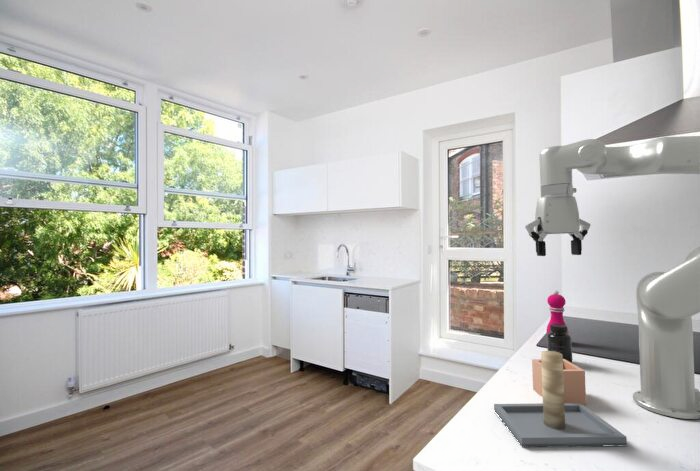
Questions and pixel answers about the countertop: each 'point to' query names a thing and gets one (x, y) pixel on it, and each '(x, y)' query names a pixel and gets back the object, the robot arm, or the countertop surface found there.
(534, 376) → the deep cup
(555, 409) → the dowel
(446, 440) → the countertop surface
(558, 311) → the pepper mill
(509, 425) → the tray
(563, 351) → the supplement bottle
